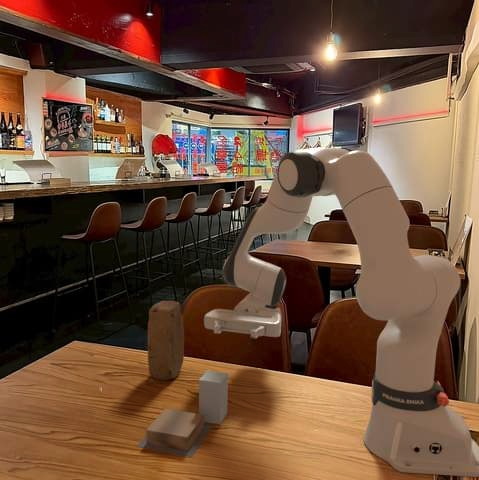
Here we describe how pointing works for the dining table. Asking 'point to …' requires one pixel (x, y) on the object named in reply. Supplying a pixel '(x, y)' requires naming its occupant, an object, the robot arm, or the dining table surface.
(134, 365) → the dining table surface
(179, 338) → the block
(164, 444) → the base slab
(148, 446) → the build pad
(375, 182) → the robot arm
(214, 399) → the pillar
